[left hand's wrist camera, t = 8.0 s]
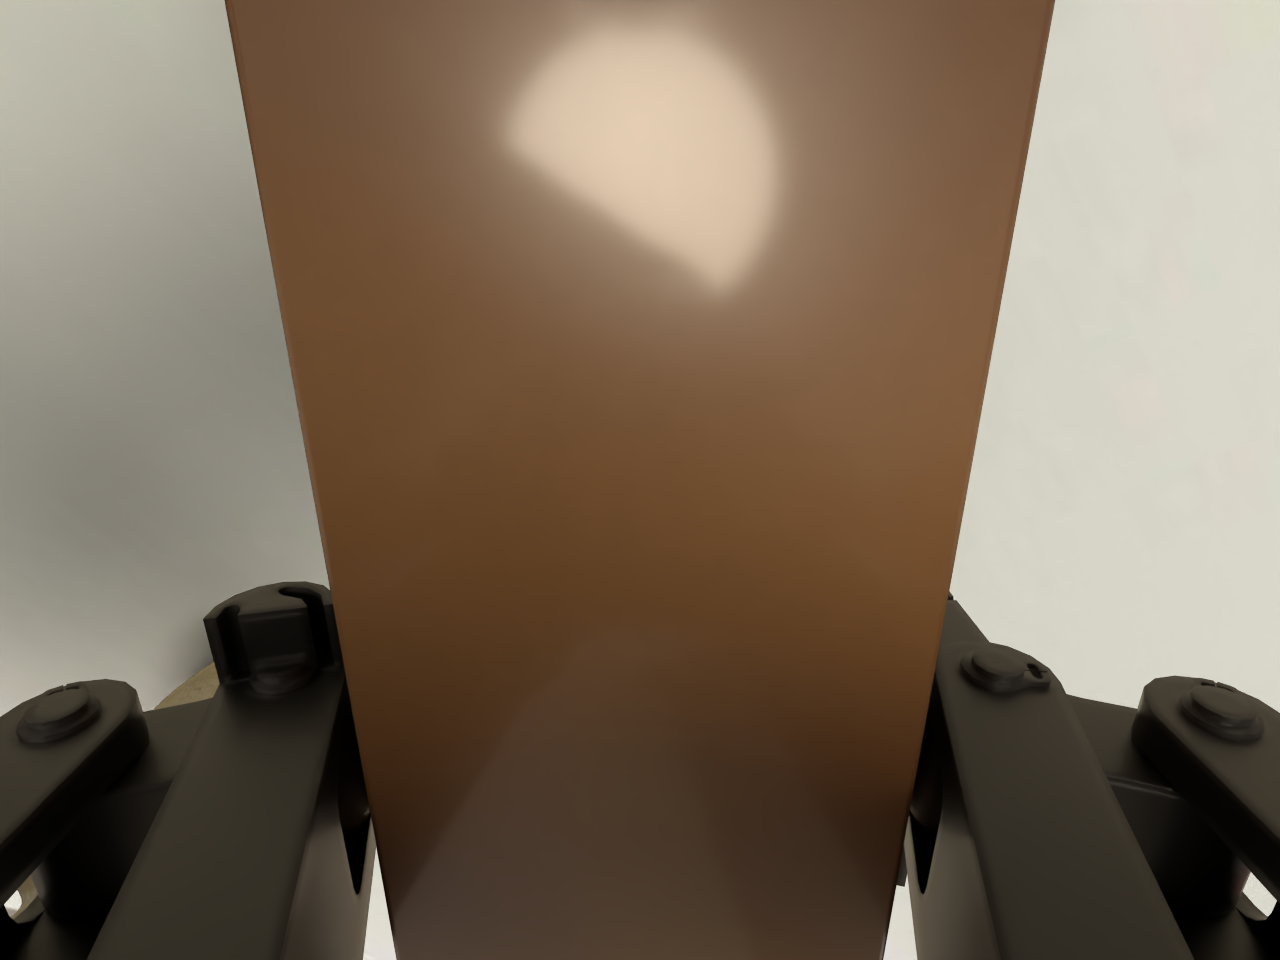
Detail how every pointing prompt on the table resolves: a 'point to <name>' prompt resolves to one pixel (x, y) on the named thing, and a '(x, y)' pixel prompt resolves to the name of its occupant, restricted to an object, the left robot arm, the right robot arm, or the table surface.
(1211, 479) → the table surface
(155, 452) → the table surface
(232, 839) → the left robot arm
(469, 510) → the bar
